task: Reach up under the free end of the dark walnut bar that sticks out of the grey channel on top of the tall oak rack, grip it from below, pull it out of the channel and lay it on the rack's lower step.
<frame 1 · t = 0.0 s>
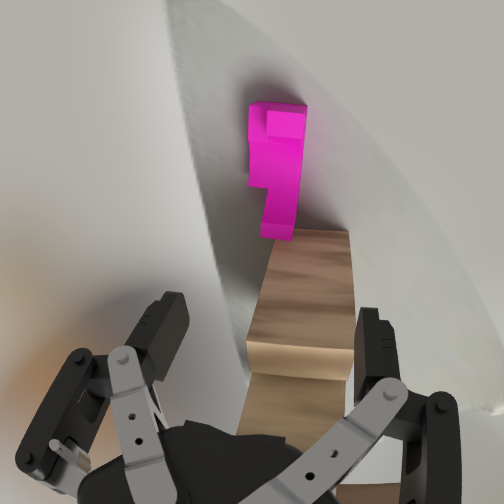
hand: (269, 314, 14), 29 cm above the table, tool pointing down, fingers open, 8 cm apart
walnut bar: (307, 486, 24), point 31 cm above the table, touching oak rack
toy block: (278, 158, 40), on the table
oak rack: (310, 289, 50), on the table
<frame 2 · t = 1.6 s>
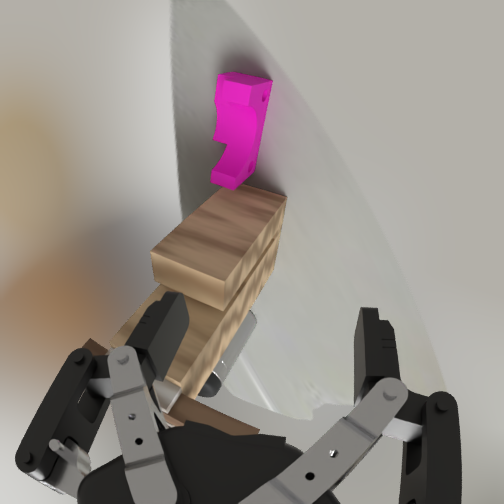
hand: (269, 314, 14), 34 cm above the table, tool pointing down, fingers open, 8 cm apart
walnut bar: (165, 389, 34), point 31 cm above the table, touching oak rack
toy block: (245, 121, 45), on the table
oak rack: (251, 241, 57), on the table
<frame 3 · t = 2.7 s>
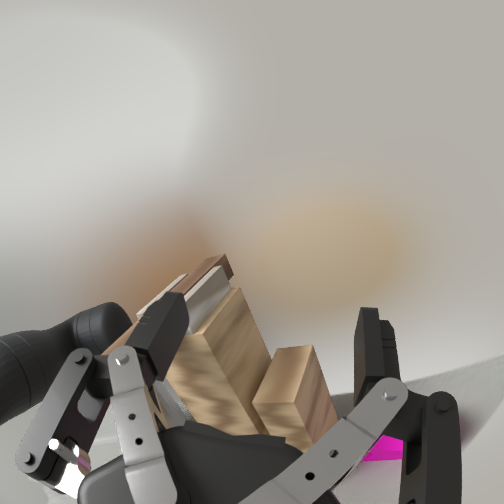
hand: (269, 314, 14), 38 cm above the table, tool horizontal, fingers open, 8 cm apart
walnut bar: (181, 323, 34), point 31 cm above the table, touching oak rack
toy block: (406, 444, 37), on the table
oak rack: (275, 459, 45), on the table
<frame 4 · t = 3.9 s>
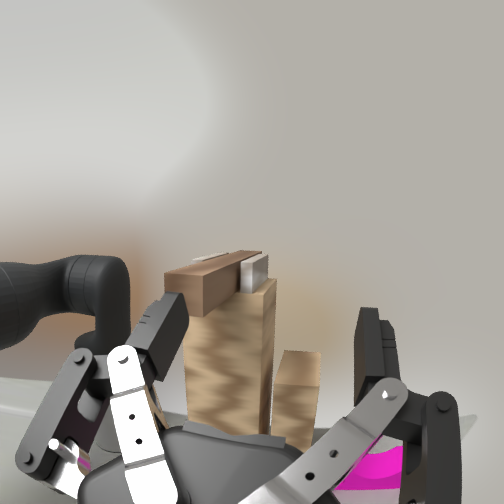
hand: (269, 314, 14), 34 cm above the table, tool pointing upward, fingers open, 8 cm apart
walnut bar: (227, 287, 35), point 31 cm above the table, touching oak rack
toy block: (371, 478, 37), on the table
oak rack: (233, 472, 40), on the table
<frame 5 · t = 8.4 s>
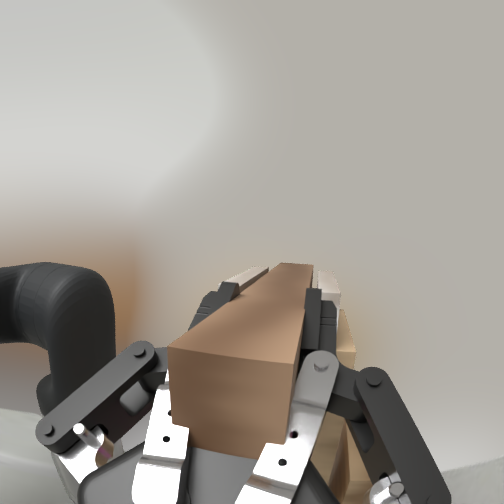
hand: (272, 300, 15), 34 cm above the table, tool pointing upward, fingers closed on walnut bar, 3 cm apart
walnut bar: (280, 332, 19), point 31 cm above the table, touching gripper, oak rack
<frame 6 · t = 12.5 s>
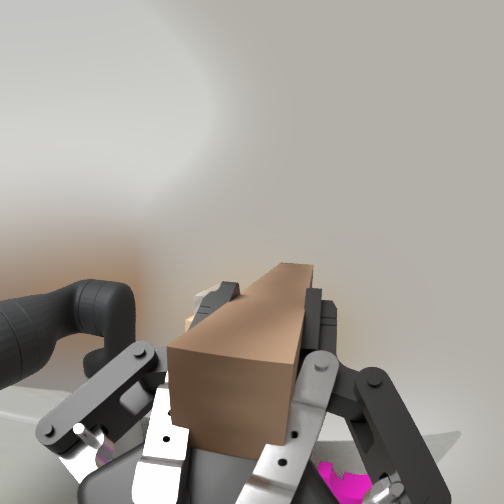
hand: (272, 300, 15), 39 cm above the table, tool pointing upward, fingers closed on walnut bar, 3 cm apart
walnut bar: (280, 332, 19), point 36 cm above the table, touching gripper
toy block: (355, 497, 38), on the table
when the fingers open (26 cm above the table, at t = 17.0 s): walnut bar drops 2 cm, resting on oak rack.
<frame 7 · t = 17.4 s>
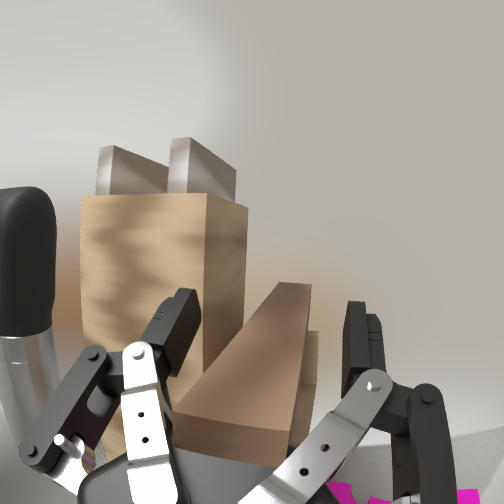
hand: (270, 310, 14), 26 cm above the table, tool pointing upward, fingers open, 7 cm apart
walnut bar: (278, 361, 19), point 21 cm above the table, touching oak rack
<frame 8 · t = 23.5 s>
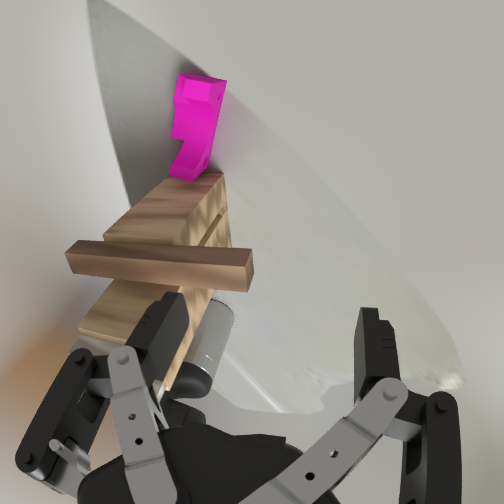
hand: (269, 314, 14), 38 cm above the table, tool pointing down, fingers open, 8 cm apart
walnut bar: (153, 255, 36), point 21 cm above the table, touching oak rack
toy block: (199, 120, 47), on the table
oak rack: (204, 229, 58), on the table
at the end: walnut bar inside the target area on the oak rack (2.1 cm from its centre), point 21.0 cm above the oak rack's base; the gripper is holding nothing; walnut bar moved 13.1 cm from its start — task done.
